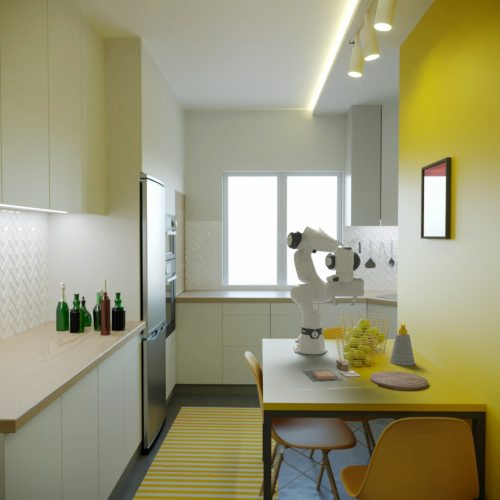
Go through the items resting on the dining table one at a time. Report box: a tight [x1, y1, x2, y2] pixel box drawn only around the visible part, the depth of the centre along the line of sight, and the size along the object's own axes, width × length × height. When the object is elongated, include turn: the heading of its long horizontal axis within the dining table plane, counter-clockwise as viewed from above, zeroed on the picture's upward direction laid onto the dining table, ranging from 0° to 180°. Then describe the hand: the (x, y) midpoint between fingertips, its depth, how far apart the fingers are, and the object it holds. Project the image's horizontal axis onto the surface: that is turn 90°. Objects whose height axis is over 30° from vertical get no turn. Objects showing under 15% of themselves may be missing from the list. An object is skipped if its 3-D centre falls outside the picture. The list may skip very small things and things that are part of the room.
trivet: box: [369, 370, 429, 392], centre depth 217 cm, size 25×25×2 cm
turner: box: [336, 359, 361, 378], centre depth 231 cm, size 18×7×4 cm, turn 11°
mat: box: [301, 369, 344, 383], centre depth 224 cm, size 18×14×1 cm
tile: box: [313, 370, 336, 380], centre depth 221 cm, size 2×8×8 cm
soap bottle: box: [389, 323, 416, 367], centre depth 252 cm, size 12×12×20 cm
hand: (344, 305), depth 242 cm, fingers open, 8 cm apart
